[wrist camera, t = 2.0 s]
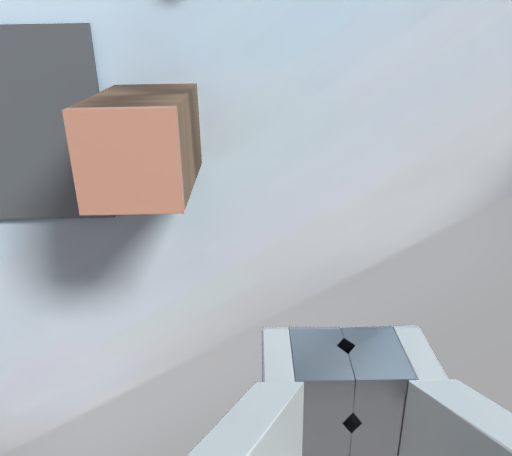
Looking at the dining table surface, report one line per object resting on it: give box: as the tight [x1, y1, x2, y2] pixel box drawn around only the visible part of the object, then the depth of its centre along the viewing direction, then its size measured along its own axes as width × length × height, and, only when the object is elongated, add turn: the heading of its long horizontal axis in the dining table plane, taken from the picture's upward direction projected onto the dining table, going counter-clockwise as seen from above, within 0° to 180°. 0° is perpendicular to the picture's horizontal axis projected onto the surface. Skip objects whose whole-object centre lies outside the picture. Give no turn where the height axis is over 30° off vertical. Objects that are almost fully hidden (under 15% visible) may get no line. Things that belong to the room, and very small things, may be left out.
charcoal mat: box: [0, 23, 116, 219], centre depth 31 cm, size 10×12×1 cm
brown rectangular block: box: [62, 84, 202, 215], centre depth 27 cm, size 5×5×9 cm
